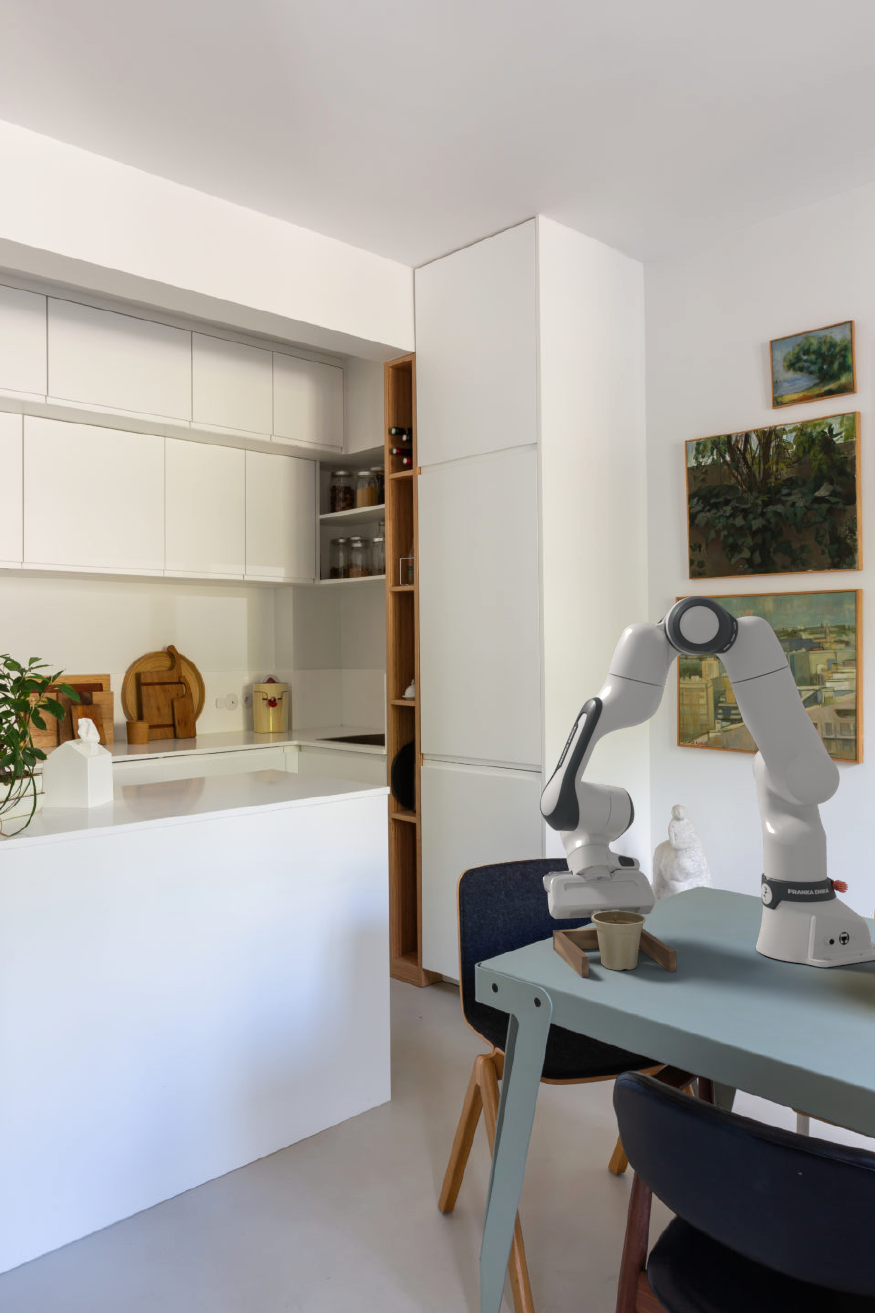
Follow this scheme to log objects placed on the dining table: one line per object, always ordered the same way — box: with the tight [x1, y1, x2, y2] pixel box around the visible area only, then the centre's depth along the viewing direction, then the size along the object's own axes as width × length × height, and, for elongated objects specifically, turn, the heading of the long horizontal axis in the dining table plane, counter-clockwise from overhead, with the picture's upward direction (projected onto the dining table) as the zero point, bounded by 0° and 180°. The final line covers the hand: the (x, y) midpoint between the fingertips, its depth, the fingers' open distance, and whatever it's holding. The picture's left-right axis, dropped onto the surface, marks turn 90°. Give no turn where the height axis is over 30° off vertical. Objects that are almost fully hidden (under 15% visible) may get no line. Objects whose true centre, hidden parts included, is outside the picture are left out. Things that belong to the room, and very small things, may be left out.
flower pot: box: [592, 911, 646, 971], centre depth 166 cm, size 9×9×9 cm
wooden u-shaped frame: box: [552, 927, 677, 978], centre depth 169 cm, size 17×17×4 cm
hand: (610, 935), depth 170 cm, fingers closed
